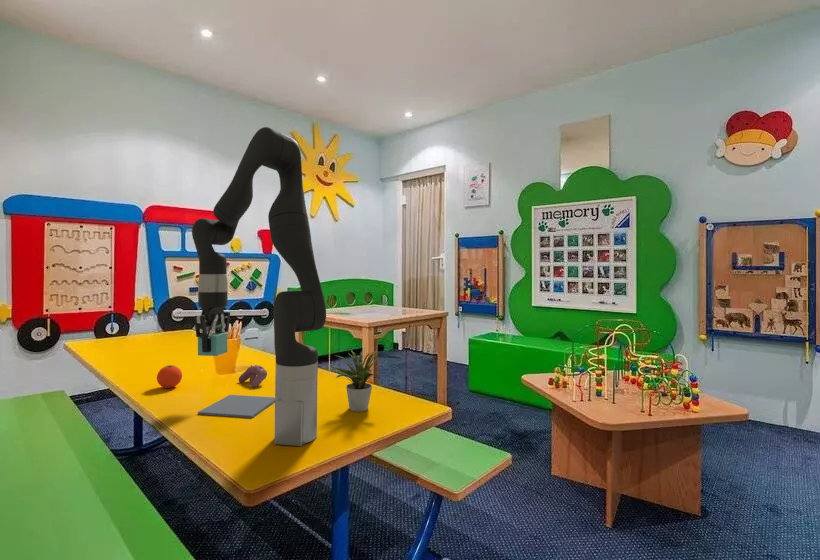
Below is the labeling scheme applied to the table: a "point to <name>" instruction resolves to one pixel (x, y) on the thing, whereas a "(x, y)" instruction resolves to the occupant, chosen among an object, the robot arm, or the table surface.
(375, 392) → the table surface
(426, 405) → the table surface
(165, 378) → the tomato
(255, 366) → the video game controller
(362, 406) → the house plant
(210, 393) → the table surface
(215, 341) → the teal cube
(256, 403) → the slate mat
